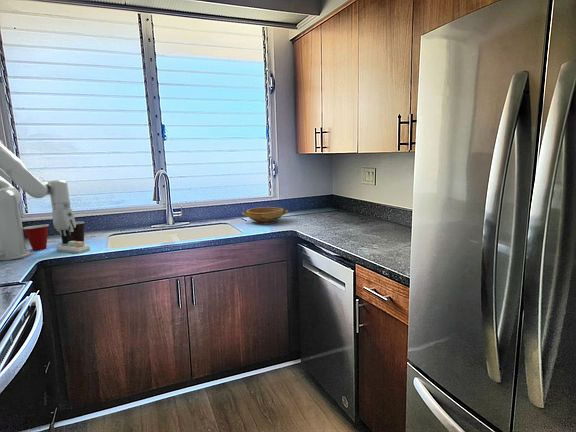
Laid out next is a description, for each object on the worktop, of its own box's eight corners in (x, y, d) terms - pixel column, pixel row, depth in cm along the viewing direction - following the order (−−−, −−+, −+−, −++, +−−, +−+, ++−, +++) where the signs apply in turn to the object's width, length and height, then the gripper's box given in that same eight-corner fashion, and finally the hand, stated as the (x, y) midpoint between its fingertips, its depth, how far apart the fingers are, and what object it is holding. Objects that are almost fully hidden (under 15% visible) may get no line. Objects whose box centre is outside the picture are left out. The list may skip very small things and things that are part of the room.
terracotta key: (80, 247, 174) (79, 242, 174) (75, 246, 175) (74, 242, 175) (84, 245, 176) (83, 241, 176) (79, 245, 177) (79, 241, 177)
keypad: (79, 253, 173) (78, 248, 172) (57, 250, 178) (56, 245, 178) (90, 250, 178) (89, 245, 177) (68, 247, 184) (67, 243, 183)
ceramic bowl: (241, 227, 222) (241, 214, 221) (242, 219, 246) (242, 207, 244) (290, 224, 225) (290, 212, 224) (286, 217, 249) (286, 206, 247)
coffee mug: (69, 240, 199) (67, 222, 197) (87, 238, 202) (85, 221, 200) (65, 245, 188) (62, 226, 187) (84, 243, 191) (81, 224, 190)
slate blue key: (66, 248, 178) (66, 244, 178) (62, 247, 179) (61, 243, 179) (70, 246, 180) (70, 243, 180) (66, 246, 181) (65, 242, 181)
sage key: (73, 246, 176) (72, 242, 176) (68, 245, 177) (68, 241, 177) (77, 245, 178) (76, 241, 178) (72, 244, 179) (72, 240, 179)
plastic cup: (47, 245, 190) (44, 222, 188) (55, 248, 184) (52, 224, 181) (23, 249, 182) (19, 226, 180) (30, 253, 175) (26, 228, 173)
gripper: (79, 205, 177) (84, 242, 180) (57, 204, 182) (63, 240, 186) (64, 207, 170) (70, 246, 173) (42, 206, 175) (48, 244, 179)
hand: (66, 243), depth 179 cm, fingers closed
